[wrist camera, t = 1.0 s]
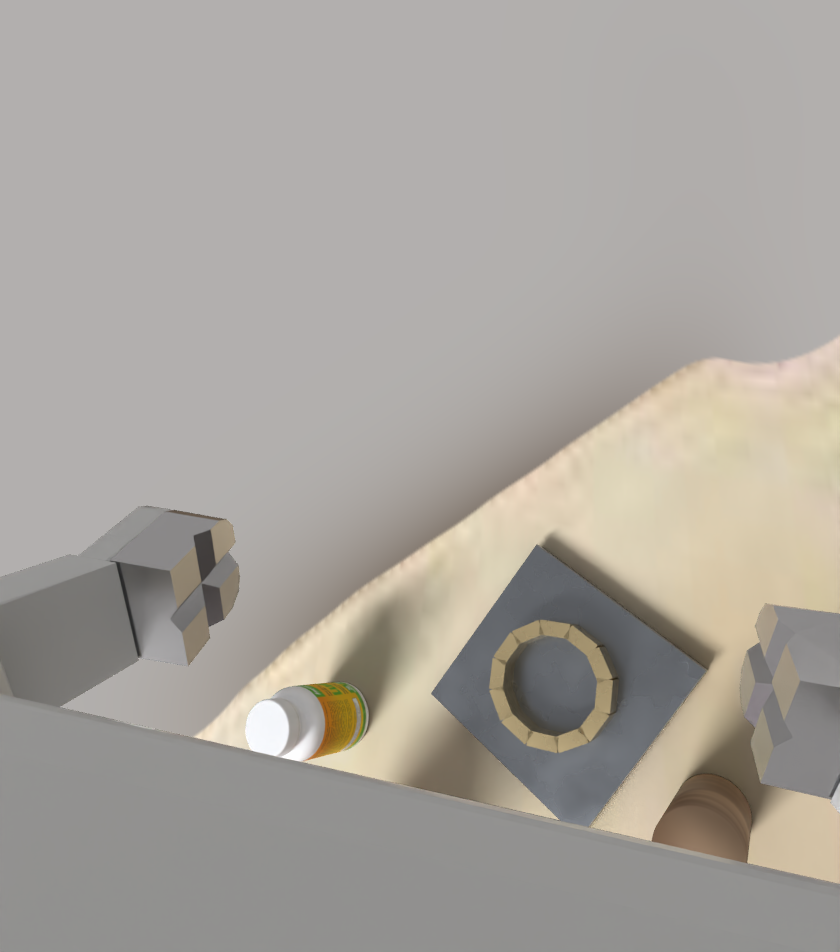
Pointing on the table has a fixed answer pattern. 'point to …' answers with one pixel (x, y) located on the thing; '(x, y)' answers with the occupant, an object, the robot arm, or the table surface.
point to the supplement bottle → (308, 721)
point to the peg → (707, 819)
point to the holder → (566, 687)
